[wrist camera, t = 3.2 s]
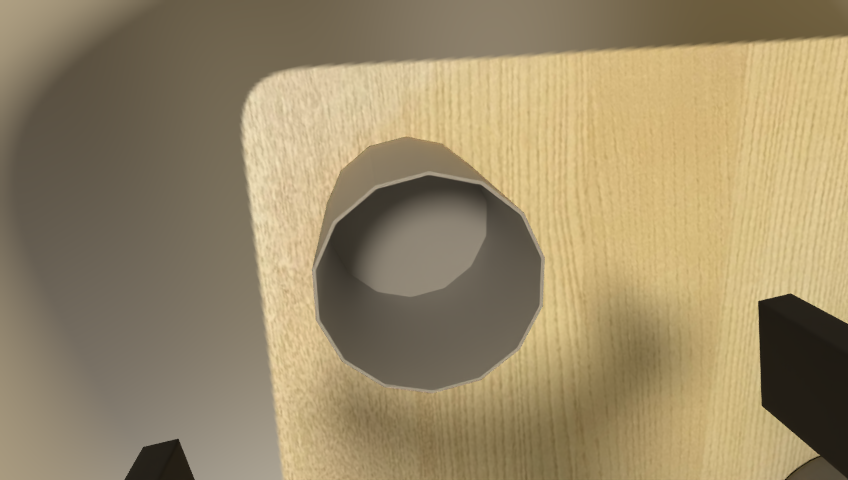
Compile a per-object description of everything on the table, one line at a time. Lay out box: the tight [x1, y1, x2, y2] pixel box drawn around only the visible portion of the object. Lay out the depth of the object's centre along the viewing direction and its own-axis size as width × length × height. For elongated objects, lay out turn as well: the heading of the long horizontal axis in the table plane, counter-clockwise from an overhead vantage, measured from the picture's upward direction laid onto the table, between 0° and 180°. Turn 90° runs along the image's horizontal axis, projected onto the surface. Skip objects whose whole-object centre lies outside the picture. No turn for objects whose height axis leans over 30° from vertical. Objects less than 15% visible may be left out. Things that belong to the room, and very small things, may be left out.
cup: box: [312, 137, 545, 393], centre depth 26 cm, size 8×8×10 cm
